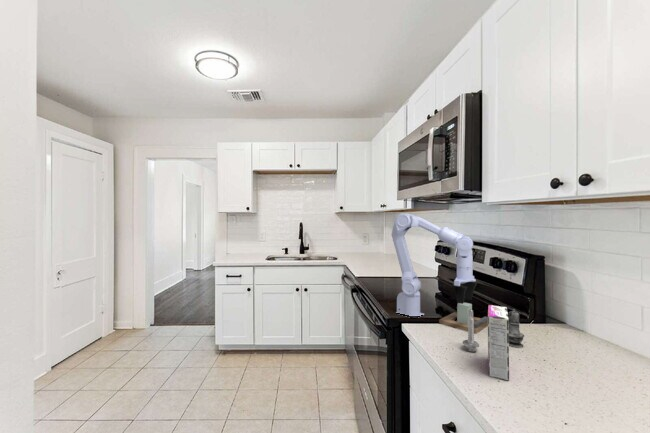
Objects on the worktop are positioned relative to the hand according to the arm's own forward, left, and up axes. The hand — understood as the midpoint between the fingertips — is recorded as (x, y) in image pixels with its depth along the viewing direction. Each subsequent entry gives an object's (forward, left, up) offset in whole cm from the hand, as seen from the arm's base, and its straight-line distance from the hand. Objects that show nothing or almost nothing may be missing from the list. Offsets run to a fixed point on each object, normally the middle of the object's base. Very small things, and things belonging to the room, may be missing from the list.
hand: (464, 301), depth 117 cm
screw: (+11, -22, -9) cm, 26 cm away
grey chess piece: (+19, -7, -9) cm, 22 cm away
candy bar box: (+21, -29, -9) cm, 37 cm away
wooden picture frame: (0, 0, -9) cm, 9 cm away
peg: (0, 0, -9) cm, 9 cm away
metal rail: (+6, 0, -8) cm, 10 cm away
